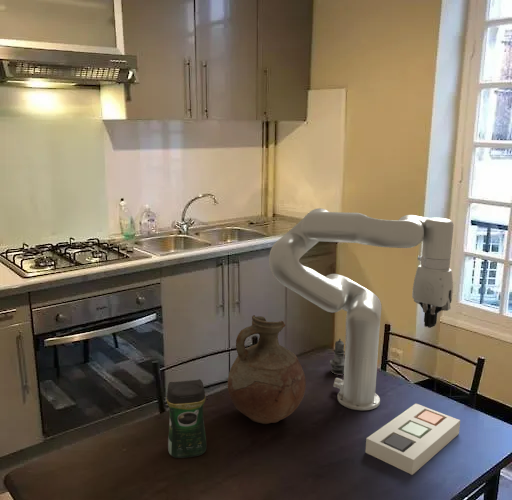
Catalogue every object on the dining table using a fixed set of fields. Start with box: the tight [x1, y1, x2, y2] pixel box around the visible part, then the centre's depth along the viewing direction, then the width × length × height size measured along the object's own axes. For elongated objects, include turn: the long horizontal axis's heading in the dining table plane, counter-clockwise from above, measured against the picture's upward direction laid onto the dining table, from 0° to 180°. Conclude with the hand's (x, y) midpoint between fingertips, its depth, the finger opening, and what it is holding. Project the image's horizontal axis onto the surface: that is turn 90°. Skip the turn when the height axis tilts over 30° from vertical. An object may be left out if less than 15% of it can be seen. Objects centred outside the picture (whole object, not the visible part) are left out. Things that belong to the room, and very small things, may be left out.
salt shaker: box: [329, 338, 345, 374], centre depth 184 cm, size 6×6×12 cm
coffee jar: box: [165, 378, 207, 459], centre depth 137 cm, size 10×8×19 cm
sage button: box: [401, 422, 428, 439], centre depth 144 cm, size 5×5×2 cm
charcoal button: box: [384, 434, 412, 452], centre depth 138 cm, size 5×5×2 cm
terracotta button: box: [417, 411, 443, 426], centre depth 150 cm, size 5×5×2 cm
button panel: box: [365, 403, 461, 476], centre depth 144 cm, size 13×26×4 cm, turn 136°
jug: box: [227, 314, 307, 425], centre depth 152 cm, size 22×22×30 cm
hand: (429, 326), depth 156 cm, fingers closed
